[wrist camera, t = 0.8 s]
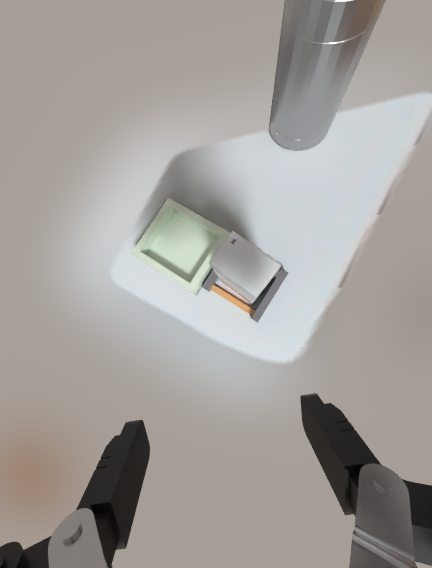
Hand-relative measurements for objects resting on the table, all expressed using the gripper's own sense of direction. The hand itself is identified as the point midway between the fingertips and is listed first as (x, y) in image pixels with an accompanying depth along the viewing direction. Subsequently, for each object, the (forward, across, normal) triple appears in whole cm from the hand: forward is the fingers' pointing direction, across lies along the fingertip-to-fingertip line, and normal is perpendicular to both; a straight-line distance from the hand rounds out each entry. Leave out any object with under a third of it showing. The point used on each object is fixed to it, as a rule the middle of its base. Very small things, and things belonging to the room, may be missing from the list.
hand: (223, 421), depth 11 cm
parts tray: (+26, +3, -7) cm, 28 cm away
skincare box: (+23, -5, -1) cm, 24 cm away
